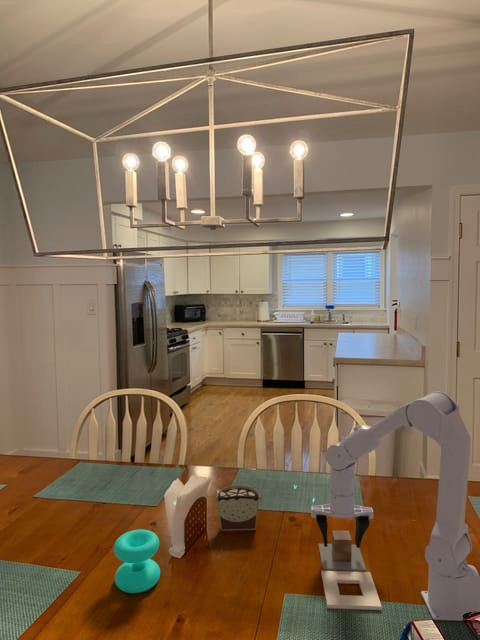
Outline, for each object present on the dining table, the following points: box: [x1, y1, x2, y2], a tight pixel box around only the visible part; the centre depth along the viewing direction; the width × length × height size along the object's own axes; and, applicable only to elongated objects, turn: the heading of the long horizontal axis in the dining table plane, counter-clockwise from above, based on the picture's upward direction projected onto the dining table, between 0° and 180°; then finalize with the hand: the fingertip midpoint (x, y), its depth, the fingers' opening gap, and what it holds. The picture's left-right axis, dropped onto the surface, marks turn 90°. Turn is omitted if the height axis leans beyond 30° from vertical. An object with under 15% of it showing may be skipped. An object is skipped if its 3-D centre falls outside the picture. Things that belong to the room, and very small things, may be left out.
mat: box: [317, 543, 367, 572], centre depth 113 cm, size 10×10×1 cm
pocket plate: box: [321, 570, 383, 611], centre depth 101 cm, size 11×11×1 cm
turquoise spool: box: [113, 529, 161, 594], centre depth 105 cm, size 10×10×10 cm
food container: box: [215, 484, 262, 532], centre depth 128 cm, size 12×6×10 cm, turn 92°
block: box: [331, 529, 353, 562], centre depth 113 cm, size 4×4×6 cm
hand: (341, 545), depth 113 cm, fingers open, 7 cm apart
